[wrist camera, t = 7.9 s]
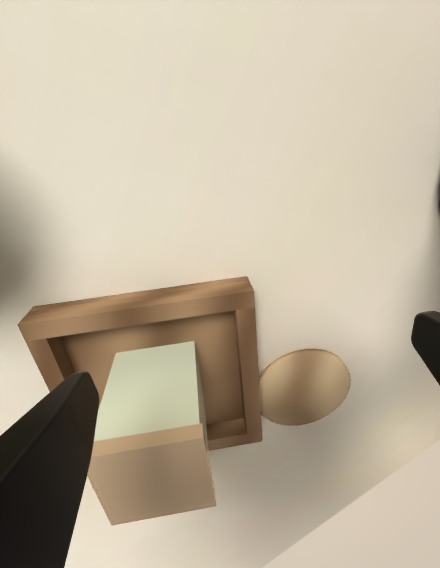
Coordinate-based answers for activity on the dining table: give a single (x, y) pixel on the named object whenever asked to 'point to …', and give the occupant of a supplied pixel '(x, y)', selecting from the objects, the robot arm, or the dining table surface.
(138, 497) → the sage canister
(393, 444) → the dining table surface
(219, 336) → the walnut tray
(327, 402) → the cork coaster
